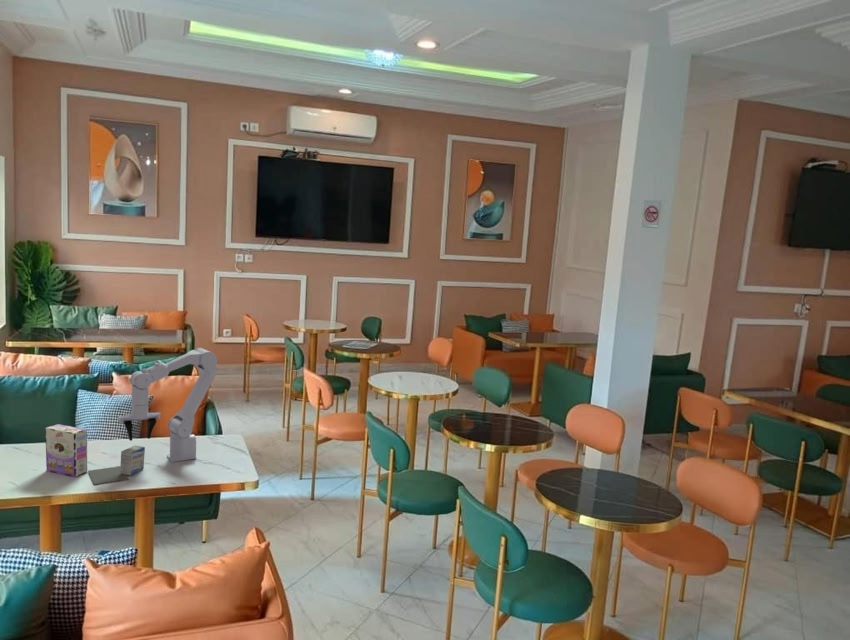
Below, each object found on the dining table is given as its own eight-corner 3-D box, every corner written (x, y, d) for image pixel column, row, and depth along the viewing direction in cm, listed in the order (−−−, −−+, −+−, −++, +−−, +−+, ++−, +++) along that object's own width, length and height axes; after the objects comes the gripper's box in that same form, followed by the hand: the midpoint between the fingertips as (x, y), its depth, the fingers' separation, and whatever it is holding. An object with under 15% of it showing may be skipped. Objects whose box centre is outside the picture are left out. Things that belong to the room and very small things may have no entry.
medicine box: (130, 475, 236) (131, 452, 236) (119, 473, 237) (120, 450, 236) (143, 469, 244) (145, 446, 243) (133, 467, 245) (134, 444, 244)
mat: (120, 467, 245) (120, 466, 245) (128, 479, 234) (128, 478, 234) (88, 471, 239) (88, 470, 239) (94, 485, 227) (94, 484, 227)
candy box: (88, 472, 238) (87, 428, 236) (74, 478, 233) (74, 433, 230) (59, 466, 242) (58, 423, 240) (45, 471, 237) (44, 427, 235)
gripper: (157, 399, 252) (157, 433, 254) (116, 402, 244) (116, 438, 245) (162, 403, 246) (161, 438, 248) (120, 407, 238) (120, 443, 240)
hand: (139, 438), depth 246 cm, fingers open, 6 cm apart
